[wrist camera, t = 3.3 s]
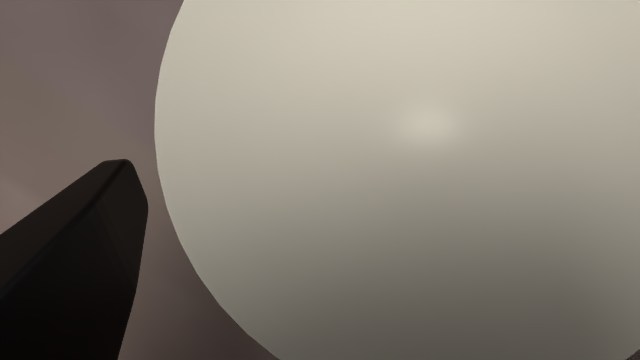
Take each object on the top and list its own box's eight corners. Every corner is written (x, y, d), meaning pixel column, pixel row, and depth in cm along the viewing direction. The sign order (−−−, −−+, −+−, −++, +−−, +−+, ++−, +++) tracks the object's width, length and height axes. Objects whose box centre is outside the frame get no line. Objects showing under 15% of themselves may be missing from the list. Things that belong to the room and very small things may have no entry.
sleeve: (497, 294, 16) (802, 396, 4) (321, 306, 17) (165, 427, 5) (478, 120, 17) (698, -201, 5) (308, 136, 17) (144, -122, 6)
